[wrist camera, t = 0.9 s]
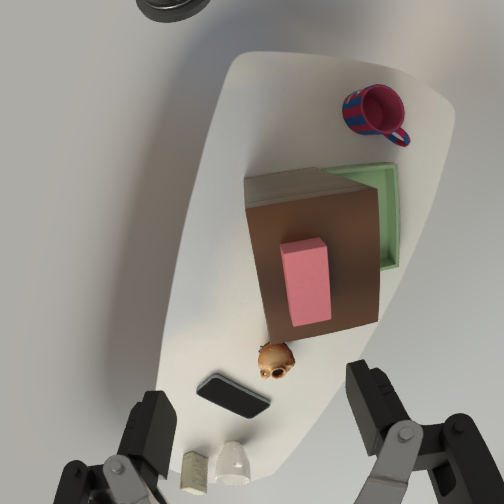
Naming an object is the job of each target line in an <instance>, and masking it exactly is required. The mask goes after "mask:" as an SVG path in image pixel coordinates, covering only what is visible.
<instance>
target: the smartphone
mask: <svg viewBox="0 0 504 504" xmlns="http://www.w3.org/2000/svg"><path fill="white" fill-rule="evenodd" d="M196 394H197V395H199V396H201V397H202V398H204V399H206V400H208V401H210V402H212V403H214V404H217V405H219V406H221V407H223V408H225V409H227V410H229V411H231V412H234V413H236V414H238V415H240V416H242V417H245V418H247V419H251V418H254V417H255V416H257V415H258V414H260V413H261V412H263V411H264V410H266V409H267V408H269V407H270V401H268V400H266V399H264V398H262V397H260V396H258V395H256V394H254V393H252V392H250V391H248V390H246V389H244V388H242V387H240V386H239V385H237V384H235V383H233V382H231V381H229V380H227V379H225V378H224V377H222V376H220V375H212V376H211V377H210V378H209V379H207V380H206V381H205V382H204V383H203V384H202V385H200V386H199V387H198V388H197V389H196Z"/></svg>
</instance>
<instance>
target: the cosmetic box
mask: <svg viewBox="0 0 504 504" xmlns="http://www.w3.org/2000/svg"><path fill="white" fill-rule="evenodd" d="M207 473H208V459H207V458H205V457H203V456H201V455H199V454H197V453H194V452H190V453H187V454H184V455H183V461H182V471H181V481H180V490H183V491H186V492H188V493H191V494H194V495H201V494H206V493H207Z"/></svg>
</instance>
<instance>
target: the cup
mask: <svg viewBox="0 0 504 504" xmlns="http://www.w3.org/2000/svg"><path fill="white" fill-rule="evenodd" d="M342 112H343V117H344V120H345V122H346V124H347V125H348V126H349V128H350V129H352V130H353V131H354V132H356V133H358V134H362V135H373V134H383V135H384V136H385V137H387V138H388V139H389V140H390V141H392V142H393V143H395V144H396V145H399V146H403V147H406V146H407V145H409V143H410V137H409V136H408V134H407V133H406V132H405V131H404V130H403V129H402V128H401V125H402V123H403V121H404V114H405V112H404V106H403V103H402V101H401V99H400V97H399V96H398V94H397V93H396V92H395V91H394V90H392V89H391V88H389V87H387V86H385V85H380V84H376V85H372V86H369V87H367V88H364V89H362V90H359V91H357V92H355V93H352V94H351V95H349V96H348V97H347V98H346V99H345V101H344V103H343V108H342ZM393 132H396V133H397V134H399V135H400V136H401V137H402V138H403V140H404V141H402V140H400V139H398V138H397V137H395V136H394V135H392V134H391V133H393Z"/></svg>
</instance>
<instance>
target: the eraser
mask: <svg viewBox="0 0 504 504" xmlns="http://www.w3.org/2000/svg"><path fill="white" fill-rule="evenodd" d="M280 249H281V255H282V262H283V269H284V276H285V283H286V290H287V298H288V305H289V312H290V316H291V320H292V324H293V327H295V326H300V325H305V324H310V323H315V322H320V321H325V320H329V319H331V299H330V281H329V266H328V254H327V246H326V245H325V243H324V242H323V241H322V240H321V239H320V237H319V238H313V239H307V240H302V241H296V242H290V243H285V244H280Z"/></svg>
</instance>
